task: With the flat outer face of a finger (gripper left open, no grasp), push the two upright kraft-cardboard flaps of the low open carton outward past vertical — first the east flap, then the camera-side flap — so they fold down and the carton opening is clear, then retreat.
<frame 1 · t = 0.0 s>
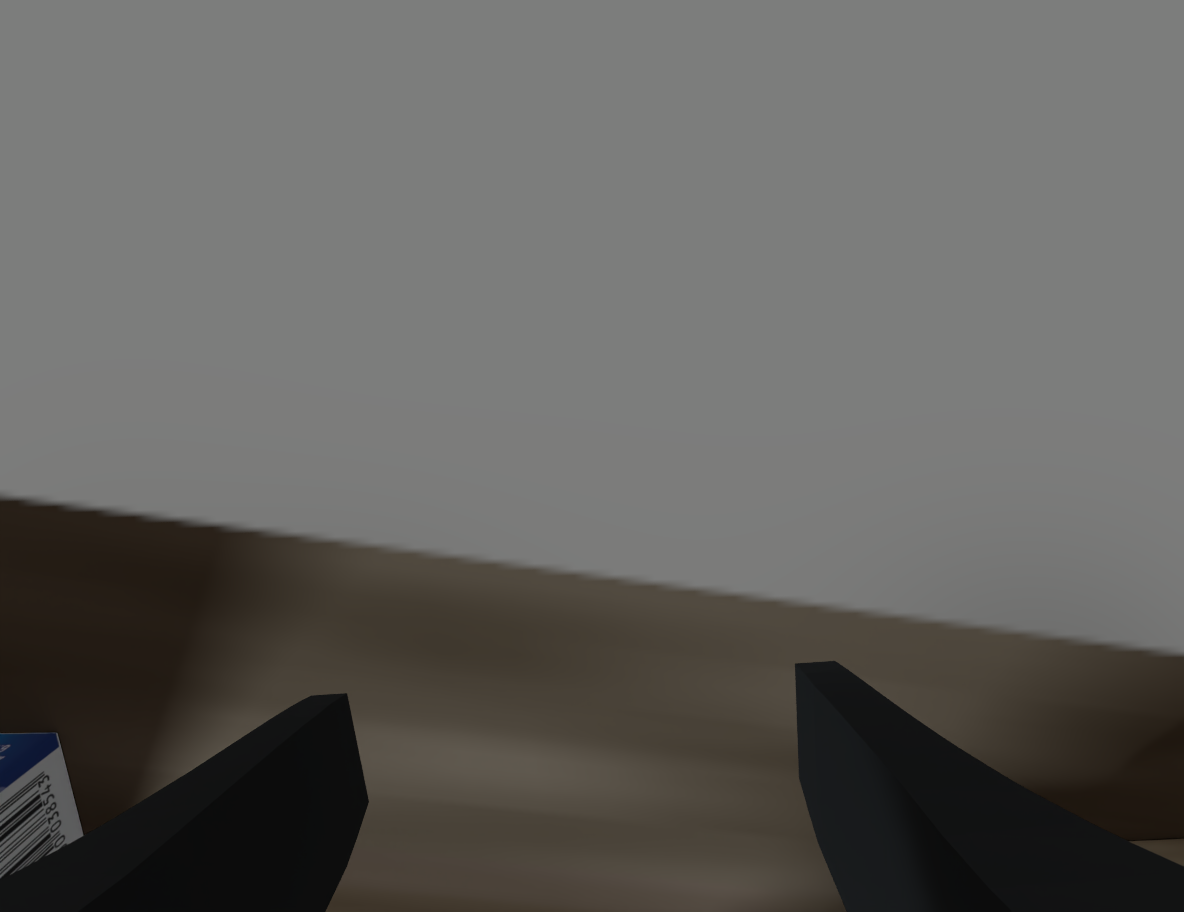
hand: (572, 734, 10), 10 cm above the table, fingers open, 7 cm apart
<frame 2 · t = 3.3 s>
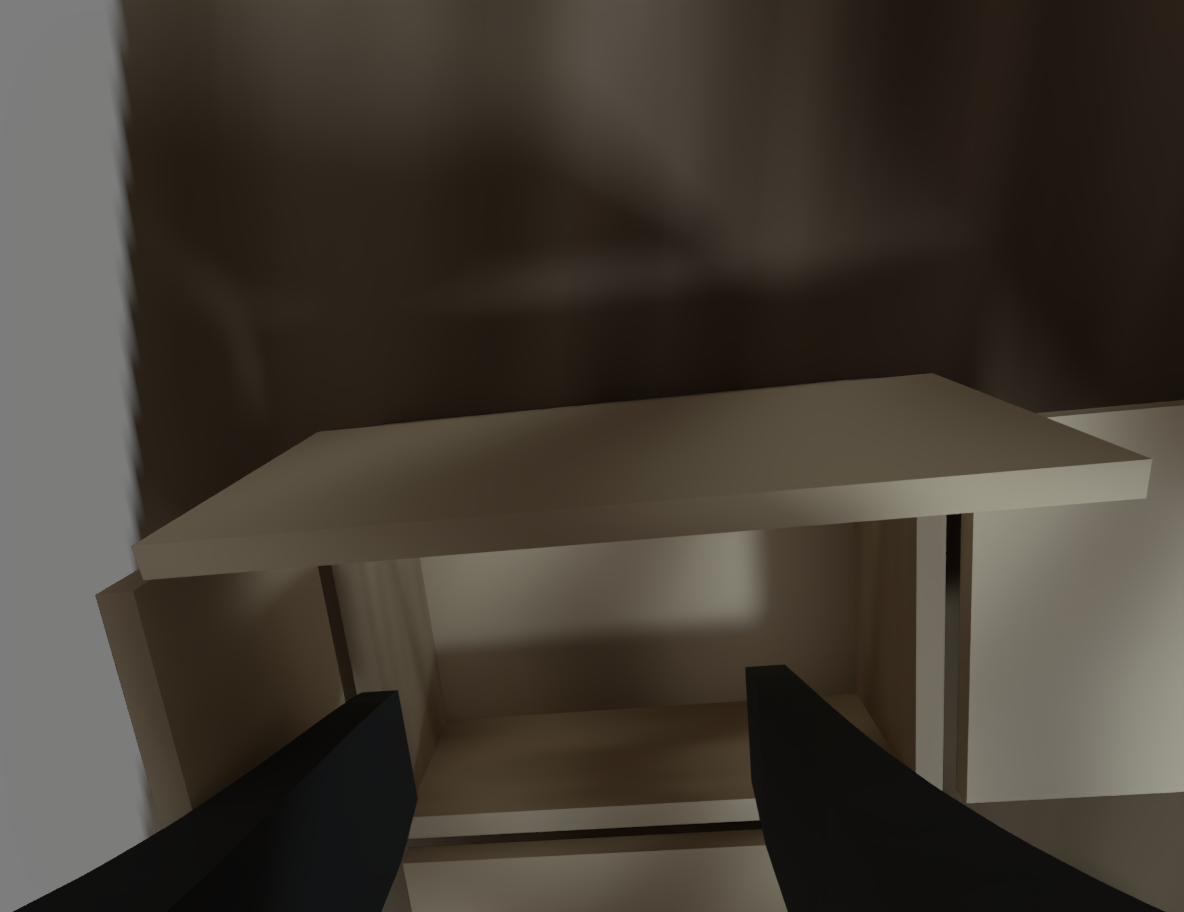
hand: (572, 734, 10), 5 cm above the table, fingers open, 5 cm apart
carton: (635, 568, 15), on the table
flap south: (617, 455, 9), point 6 cm above the table, hinge at 85.0°
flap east: (275, 750, 10), point 6 cm above the table, hinge at 85.4°, touching gripper
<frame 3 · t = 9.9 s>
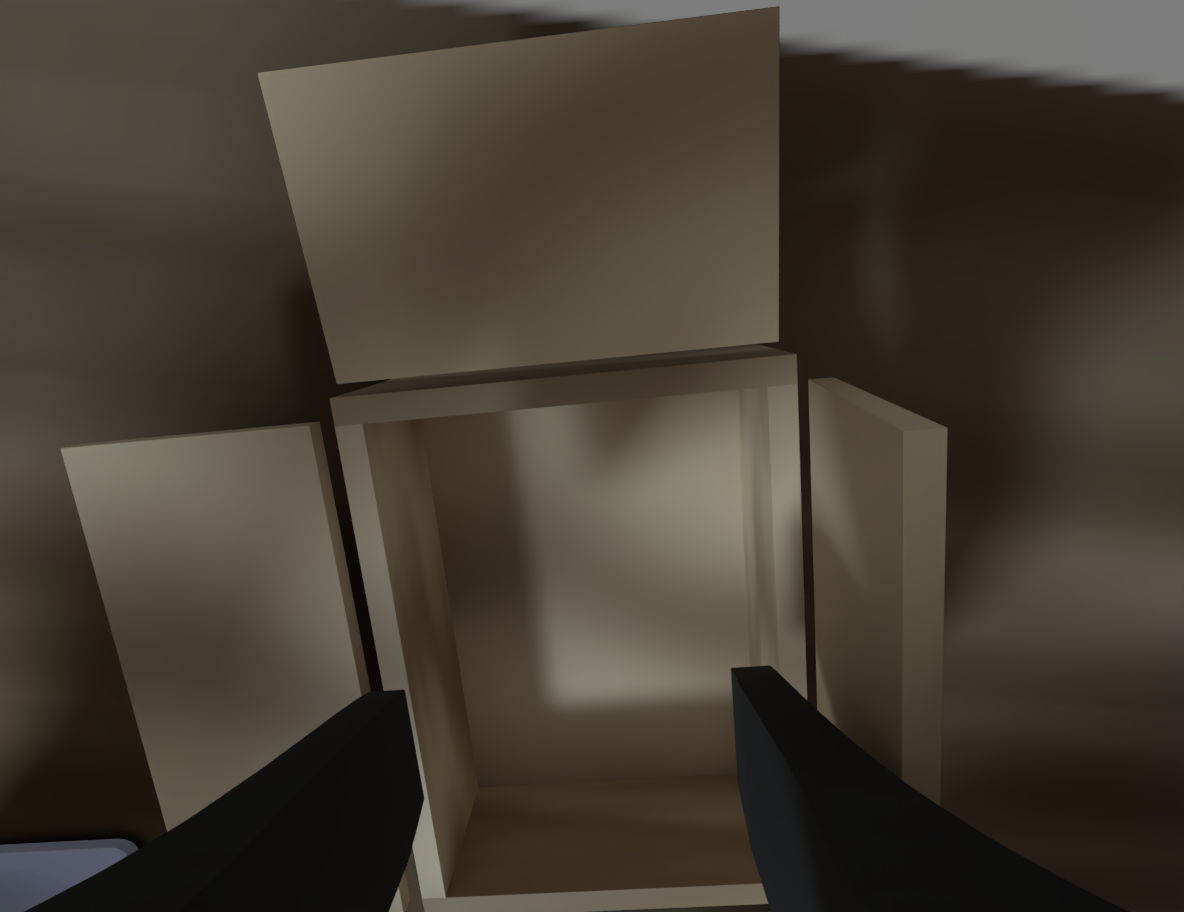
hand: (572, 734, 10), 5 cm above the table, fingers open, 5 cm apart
carton: (596, 590, 16), on the table
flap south: (863, 744, 10), point 6 cm above the table, hinge at 85.7°, touching gripper
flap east: (535, 215, 10), point 4 cm above the table, hinge at 170.8°
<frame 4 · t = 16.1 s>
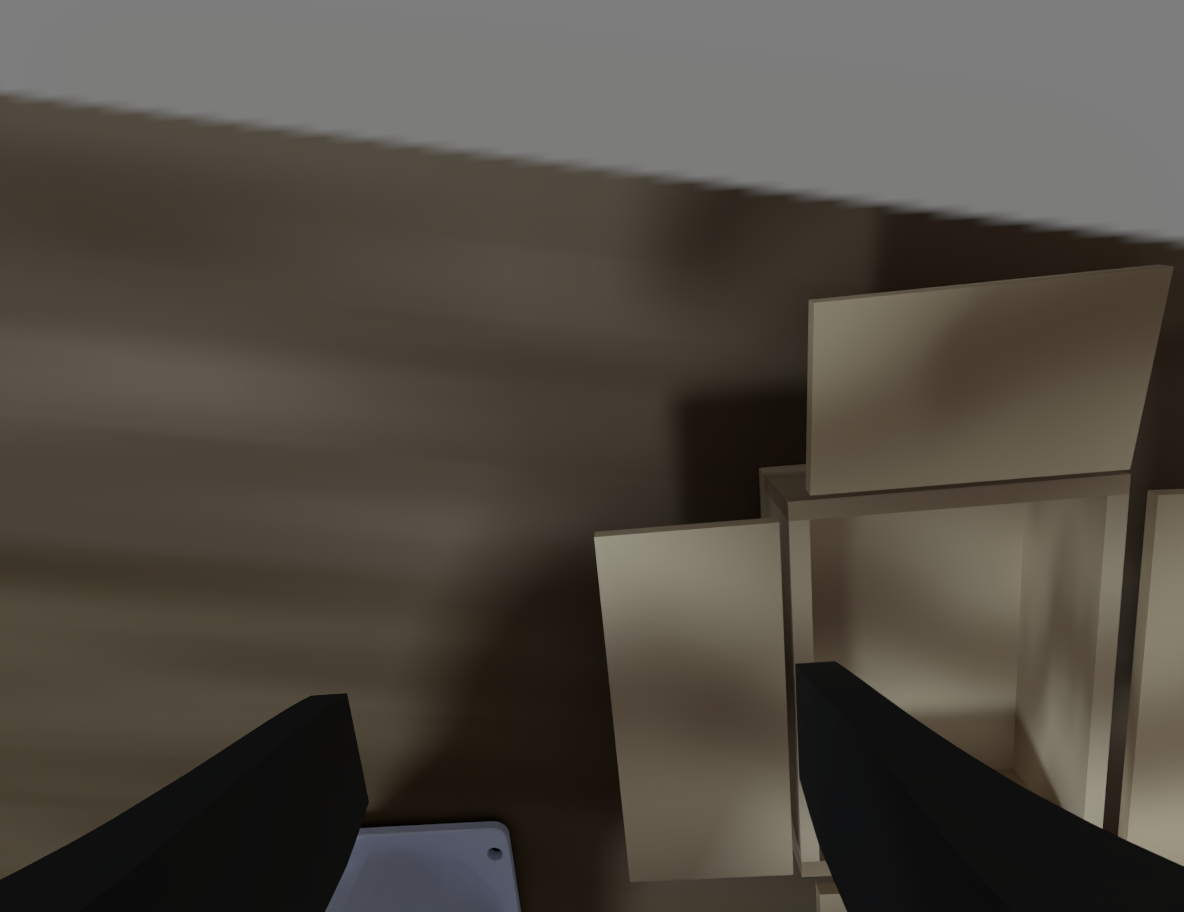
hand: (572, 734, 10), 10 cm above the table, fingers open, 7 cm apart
carton: (896, 628, 20), on the table
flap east: (973, 387, 15), point 4 cm above the table, hinge at 170.8°
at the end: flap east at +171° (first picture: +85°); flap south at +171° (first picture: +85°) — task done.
